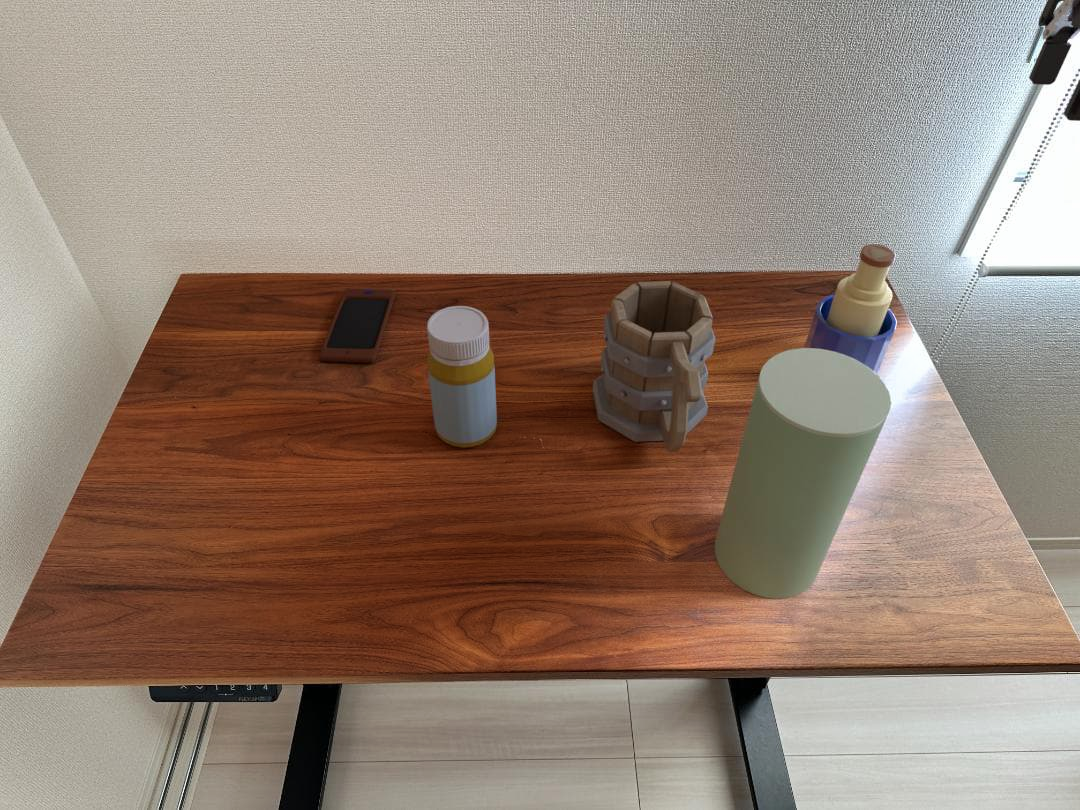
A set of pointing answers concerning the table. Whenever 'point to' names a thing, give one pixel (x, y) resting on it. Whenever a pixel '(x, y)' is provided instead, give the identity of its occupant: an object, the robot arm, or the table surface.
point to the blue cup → (850, 338)
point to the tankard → (655, 363)
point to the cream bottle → (863, 294)
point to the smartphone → (358, 326)
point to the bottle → (461, 376)
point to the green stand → (798, 468)
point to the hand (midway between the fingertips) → (1057, 100)
